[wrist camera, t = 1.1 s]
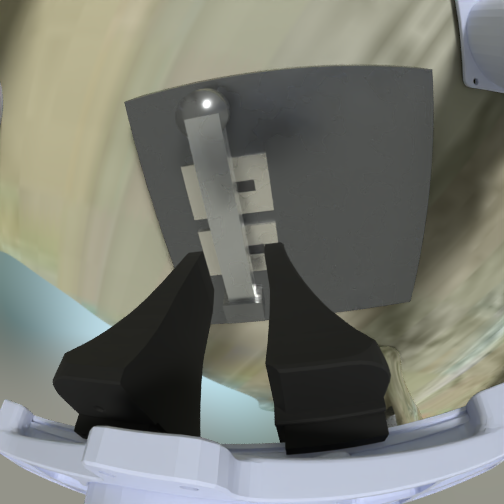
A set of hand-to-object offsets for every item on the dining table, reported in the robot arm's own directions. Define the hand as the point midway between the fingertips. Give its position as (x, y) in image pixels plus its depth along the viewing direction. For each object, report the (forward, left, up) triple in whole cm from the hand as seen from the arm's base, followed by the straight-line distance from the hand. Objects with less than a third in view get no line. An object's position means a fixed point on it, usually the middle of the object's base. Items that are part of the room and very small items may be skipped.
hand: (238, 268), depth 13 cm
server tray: (-3, +2, -10) cm, 11 cm away
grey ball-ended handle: (+1, 0, -6) cm, 6 cm away
